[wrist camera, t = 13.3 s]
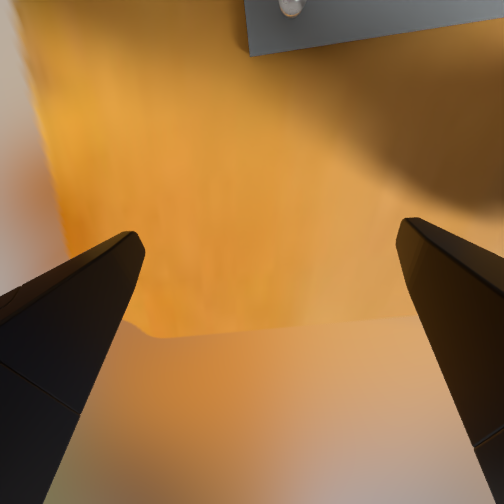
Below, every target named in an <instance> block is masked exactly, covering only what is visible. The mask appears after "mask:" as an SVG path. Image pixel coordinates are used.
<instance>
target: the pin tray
mask: <svg viewBox="0 0 504 504" xmlns="http://www.w3.org/2000/svg"><path fill="white" fill-rule="evenodd" d="M244 5H245V14H246V24H247V33H248V43H249V52H250V57H253V56H260V55H266V54H272V53H279V52H285V51H292V50H298V49H304V48H311V47H317V46H323V45H330V44H336V43H343V42H349V41H355V40H362V39H368V38H375V37H381V36H387V35H394V34H400V33H407V32H413V31H419V30H426V29H432V28H439V27H445V26H451V25H458V24H464V23H471V22H477V21H483V20H490V19H496V18H503V17H504V0H244Z"/></svg>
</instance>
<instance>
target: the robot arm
mask: <svg viewBox="0 0 504 504" xmlns="http://www.w3.org/2000/svg"><path fill="white" fill-rule="evenodd" d="M396 249H397V252H398V256H399V260H400V264H401V268H402V271H403V275H404V279H405V282H406V286H407V289H408V291H409V294H410V296H411V299H412V301H413V304H414V306H415V308H416V311H417V313H418V316H419V318H420V321H421V323H422V325H423V328H424V330H425V333H426V335H427V337H428V340H429V342H430V345H431V347H432V350H433V352H434V354H435V357H436V359H437V361H438V364H439V367H440V369H441V371H442V374H443V376H444V379H445V381H446V383H447V386H448V388H449V391H450V393H451V396H452V398H453V400H454V403H455V405H456V408H457V410H458V412H459V415H460V417H461V420H462V421H463V425H464V427H465V429H466V432H467V434H468V436H469V439H470V441H471V444H472V446H473V447H474V452H475V454H476V457H477V459H478V461H479V464H480V466H481V469H482V471H483V473H484V476H485V478H486V481H487V483H488V485H489V488H490V490H491V493H492V495H493V497H494V500H495V503H496V504H504V258H502V257H500V256H498V255H496V254H494V253H492V252H490V251H488V250H486V249H484V248H481V247H479V246H477V245H475V244H473V243H471V242H469V241H467V240H465V239H463V238H460V237H458V236H456V235H454V234H452V233H450V232H448V231H446V230H444V229H442V228H440V227H437V226H435V225H433V224H431V223H429V222H427V221H425V220H423V219H421V218H418V217H414V218H404V219H403V220H402V221H401V224H400V228H399V231H398V235H397V238H396ZM144 257H145V248H144V246H143V244H142V242H141V240H140V238H139V236H138V234H137V233H136V232H134V231H124V232H121V233H120V234H118V235H116V236H114V237H112V238H110V239H108V240H106V241H104V242H102V243H101V244H99V245H97V246H95V247H93V248H91V249H89V250H87V251H85V252H84V253H82V254H80V255H78V256H76V257H74V258H72V259H70V260H68V261H66V262H65V263H63V264H61V265H59V266H57V267H55V268H53V269H51V270H50V271H47V272H46V273H44V274H42V275H40V276H38V277H36V278H34V279H32V280H30V281H29V282H27V283H25V284H23V285H22V286H19V287H17V288H15V289H13V290H11V291H10V292H8V293H6V294H4V295H2V296H0V504H43V502H44V500H45V498H46V495H47V492H48V491H49V488H50V486H51V484H52V481H53V479H54V476H55V474H56V472H57V470H58V467H59V465H60V463H61V460H62V458H63V455H64V453H65V451H66V449H67V446H68V444H69V442H70V439H71V437H72V434H73V432H74V430H75V427H76V425H77V423H78V421H79V418H80V414H81V413H82V411H83V408H84V406H85V404H86V402H87V399H88V396H89V395H90V392H91V390H92V388H93V385H94V383H95V381H96V378H97V376H98V374H99V371H100V369H101V366H102V364H103V362H104V359H105V357H106V355H107V353H108V350H109V348H110V346H111V343H112V341H113V339H114V336H115V334H116V331H117V329H118V327H119V324H120V322H121V320H122V318H123V315H124V313H125V311H126V308H127V306H128V304H129V301H130V299H131V297H132V294H133V292H134V289H135V286H136V283H137V280H138V277H139V273H140V270H141V267H142V264H143V260H144Z"/></svg>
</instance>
